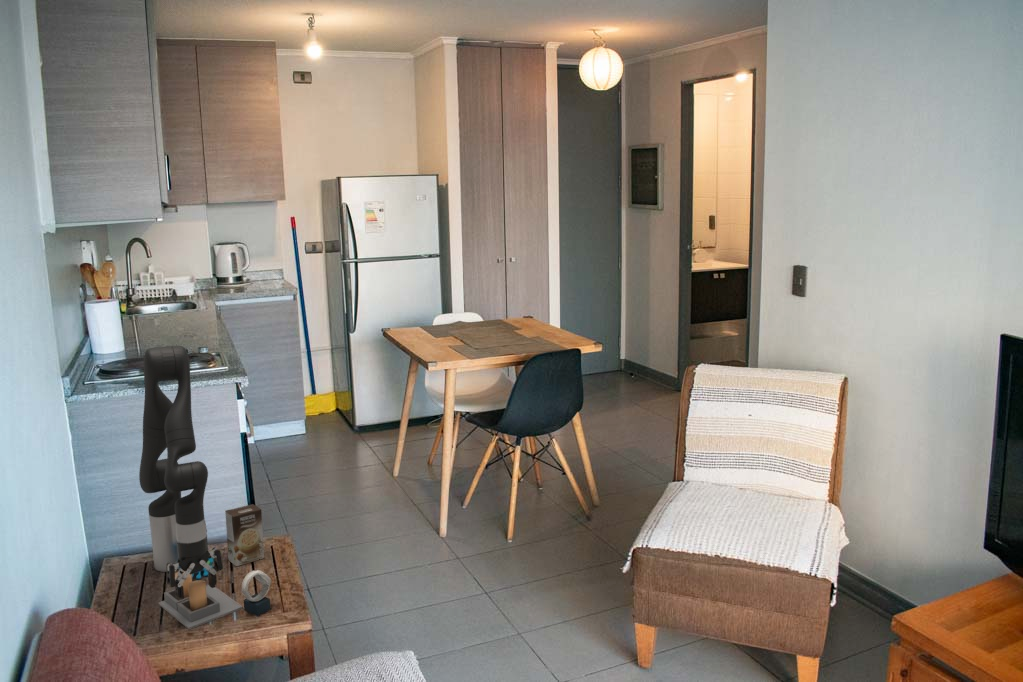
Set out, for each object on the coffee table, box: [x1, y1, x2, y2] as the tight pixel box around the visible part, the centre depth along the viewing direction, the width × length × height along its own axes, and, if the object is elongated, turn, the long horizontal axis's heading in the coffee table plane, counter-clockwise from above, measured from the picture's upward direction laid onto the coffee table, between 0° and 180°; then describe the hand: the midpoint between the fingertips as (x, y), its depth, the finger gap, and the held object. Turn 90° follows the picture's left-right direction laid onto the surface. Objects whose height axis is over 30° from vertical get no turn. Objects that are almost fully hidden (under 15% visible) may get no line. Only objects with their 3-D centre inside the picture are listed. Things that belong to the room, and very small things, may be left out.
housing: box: [158, 571, 244, 631], centre depth 228 cm, size 19×15×9 cm
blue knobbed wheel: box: [178, 557, 214, 580], centre depth 248 cm, size 11×6×10 cm
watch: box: [240, 569, 272, 617], centre depth 225 cm, size 6×8×11 cm
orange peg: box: [188, 579, 208, 611], centre depth 224 cm, size 4×4×8 cm
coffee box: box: [225, 503, 265, 567], centre depth 255 cm, size 9×6×16 cm
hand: (196, 592), depth 223 cm, fingers open, 8 cm apart
